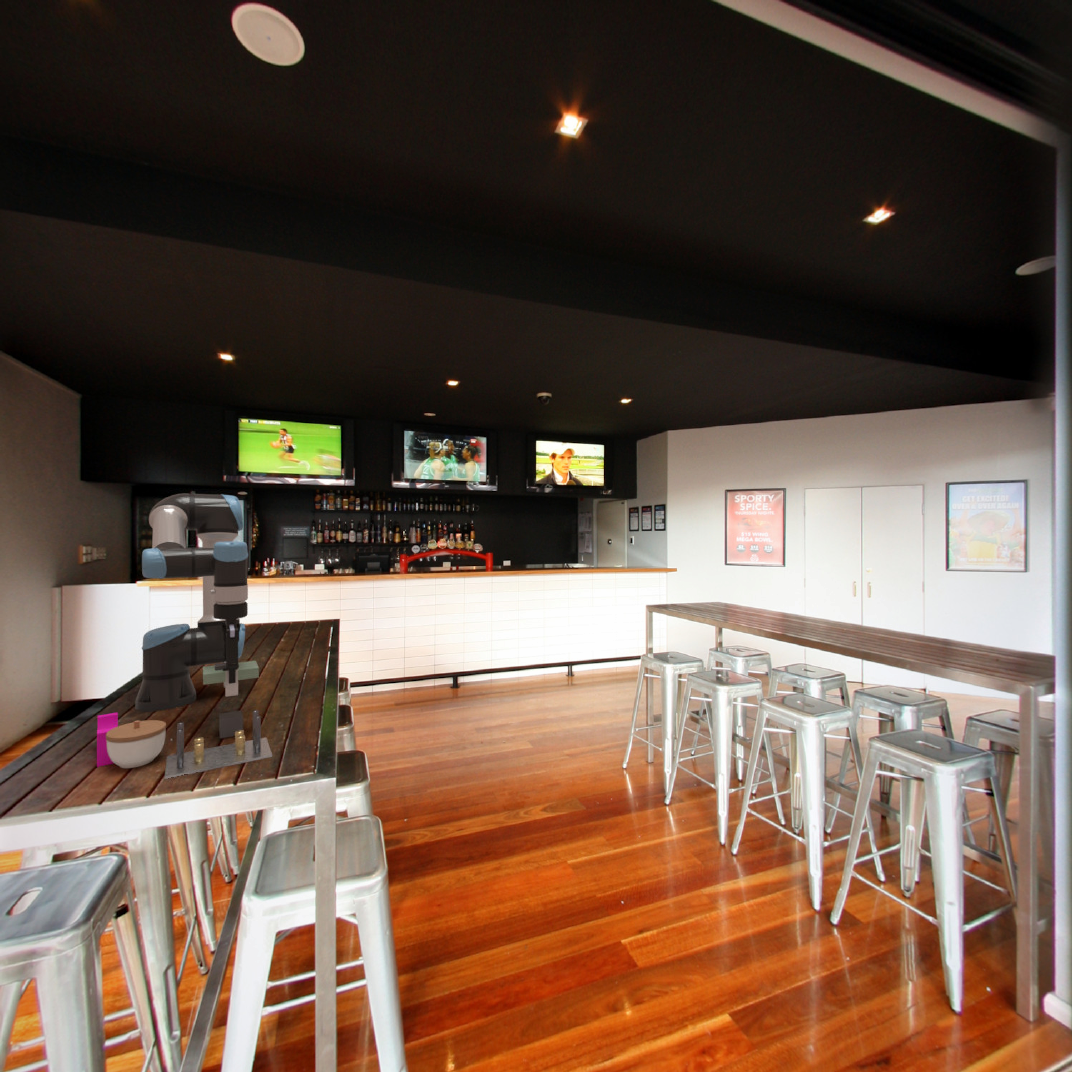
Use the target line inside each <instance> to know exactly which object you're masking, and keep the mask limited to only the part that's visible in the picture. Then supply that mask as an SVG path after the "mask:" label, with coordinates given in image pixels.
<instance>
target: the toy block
mask: <svg viewBox="0 0 1072 1072" xmlns="http://www.w3.org/2000/svg"><path fill="white" fill-rule="evenodd" d="M118 719H119V713H118V712H112V713H107V714H106V713H105V714H101V715H100V714H99V715H97V730H96V767H97V768H98V767H99V768H100V767H102V766H107V765H113V764H115V763H114V762H112V760H111V759H110V757H109V755H108V752H107V740H106V733H107V732H108V731H109V730H111V729H113V728H115V727H118V726H119V722H118V721H119V720H118Z"/></svg>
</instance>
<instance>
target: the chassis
mask: <svg viewBox="0 0 1072 1072" xmlns="http://www.w3.org/2000/svg"><path fill="white" fill-rule="evenodd" d="M261 717H262V716H260V715H259V710H258V709H254V710H252V739H251V740H246V735H245V730H244V729H243V730H238V731H236V732H235V736H234V742H233V743H229V744H223V745H219V746H214V747H209V748H205V746H204V745H205V744H204V742H205V740H204V737H202V736H200V737H195V738H194V739H193V750H192V751H186V752H185V723H184V721H181V722H177V723H176V724H177V727H176V728H177V729H176V753H175V754H169V755H167V756H166V763H165V764H166V765H165V771H164V780H168V778H169V779H172V778H171V777H174V778H178V777H177V776H179V777H182V776H181V775H183V776H185V775H184V774H188V775H192V774H197V773H196V772H198V773H202V772H207V771H211V770H216V769H220V768H221V769H222V768H226V767H231V766H235V765H240V764H244V763H249V762H253V761H259V760H265V759H269V758H272V757H273V753H272V752H273V751H271V748H270V743H269V742H268V738H267V737H262V734H261V733H262V731H261V729H262V728H261V721H262V720H261ZM261 737H262V738H261Z"/></svg>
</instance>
